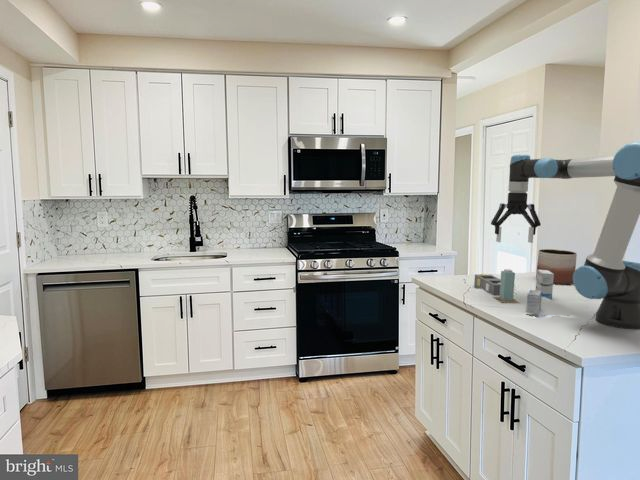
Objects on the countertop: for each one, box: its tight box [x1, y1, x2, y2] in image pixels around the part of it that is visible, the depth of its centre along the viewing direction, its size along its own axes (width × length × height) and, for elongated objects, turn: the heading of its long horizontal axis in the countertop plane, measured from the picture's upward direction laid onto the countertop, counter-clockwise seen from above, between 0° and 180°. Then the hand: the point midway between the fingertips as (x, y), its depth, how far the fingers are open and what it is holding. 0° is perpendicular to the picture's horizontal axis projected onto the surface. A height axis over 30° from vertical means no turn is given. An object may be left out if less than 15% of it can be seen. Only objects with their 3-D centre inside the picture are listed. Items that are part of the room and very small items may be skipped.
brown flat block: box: [492, 296, 521, 304], centre depth 186 cm, size 10×8×2 cm
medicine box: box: [525, 289, 543, 318], centre depth 170 cm, size 8×4×9 cm, turn 148°
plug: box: [498, 268, 516, 301], centre depth 185 cm, size 4×4×13 cm
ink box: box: [535, 269, 554, 300], centre depth 197 cm, size 8×5×12 cm, turn 168°
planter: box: [535, 248, 577, 285], centre depth 230 cm, size 18×18×16 cm
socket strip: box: [473, 273, 501, 296], centre depth 204 cm, size 22×8×6 cm, turn 2°
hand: (514, 242), depth 189 cm, fingers open, 13 cm apart
